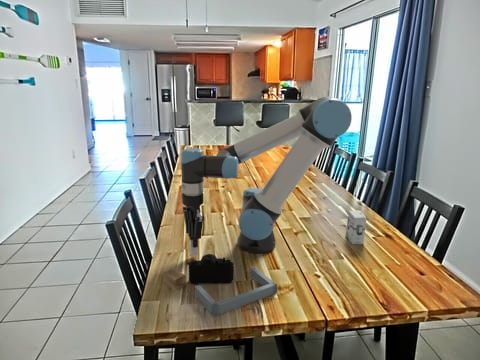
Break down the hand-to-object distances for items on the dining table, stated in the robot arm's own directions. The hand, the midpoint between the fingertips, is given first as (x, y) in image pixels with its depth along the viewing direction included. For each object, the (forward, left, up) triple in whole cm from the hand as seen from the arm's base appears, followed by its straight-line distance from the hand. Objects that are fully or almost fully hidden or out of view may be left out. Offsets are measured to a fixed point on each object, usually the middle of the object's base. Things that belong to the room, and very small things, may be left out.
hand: (193, 253), depth 130 cm
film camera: (+1, +15, -2) cm, 15 cm away
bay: (-1, +28, -1) cm, 28 cm away
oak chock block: (+13, +13, -2) cm, 19 cm away
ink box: (-64, +20, -2) cm, 67 cm away
